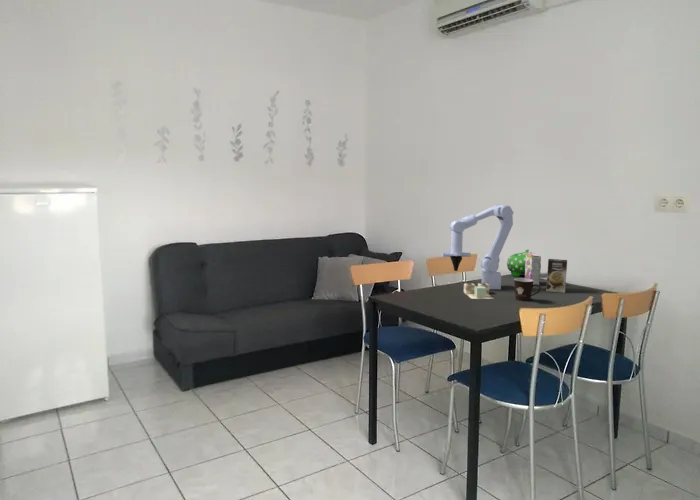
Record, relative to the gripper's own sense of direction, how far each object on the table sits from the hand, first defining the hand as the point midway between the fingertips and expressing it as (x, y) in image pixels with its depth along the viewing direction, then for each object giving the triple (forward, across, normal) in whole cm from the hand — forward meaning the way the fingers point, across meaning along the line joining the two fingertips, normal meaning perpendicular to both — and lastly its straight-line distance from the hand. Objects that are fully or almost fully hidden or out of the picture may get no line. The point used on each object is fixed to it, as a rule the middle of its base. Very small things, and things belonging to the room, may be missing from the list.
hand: (455, 270), depth 270 cm
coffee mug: (+10, +27, -26) cm, 39 cm away
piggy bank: (+10, +48, +36) cm, 61 cm away
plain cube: (+9, +8, -18) cm, 22 cm away
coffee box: (+10, +51, -4) cm, 52 cm away
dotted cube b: (+9, +4, -11) cm, 15 cm away
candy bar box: (+10, +45, +13) cm, 48 cm away
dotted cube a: (+9, +12, -11) cm, 18 cm away
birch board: (+10, +8, -15) cm, 20 cm away
